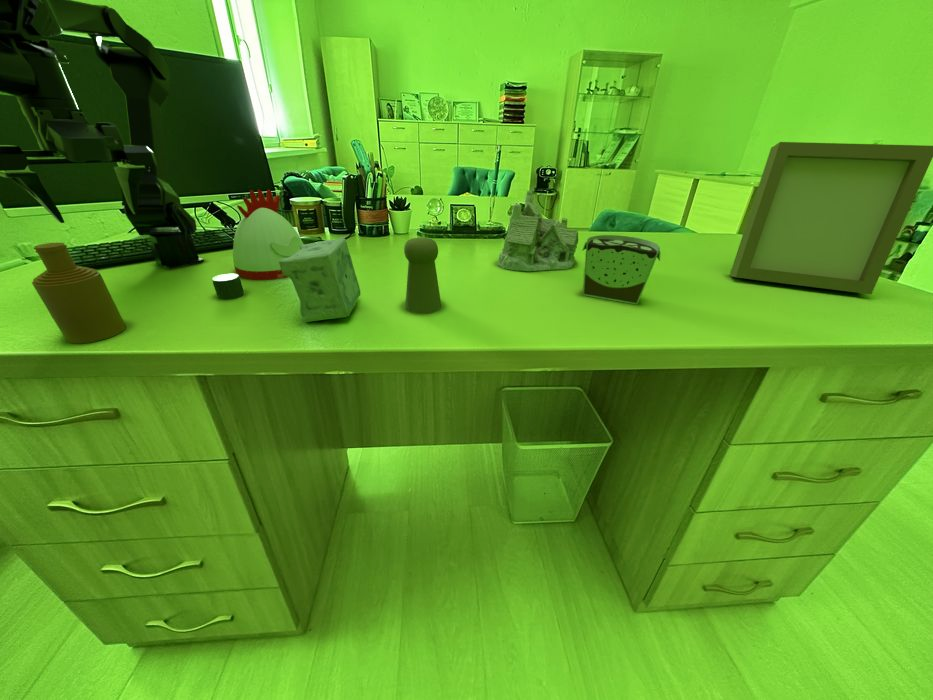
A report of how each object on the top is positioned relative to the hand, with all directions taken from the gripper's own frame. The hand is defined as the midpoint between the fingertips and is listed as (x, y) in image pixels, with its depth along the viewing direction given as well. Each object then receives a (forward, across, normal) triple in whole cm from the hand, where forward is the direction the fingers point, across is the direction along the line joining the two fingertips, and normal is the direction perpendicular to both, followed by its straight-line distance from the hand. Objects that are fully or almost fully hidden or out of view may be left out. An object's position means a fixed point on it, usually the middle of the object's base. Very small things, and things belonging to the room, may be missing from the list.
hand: (101, 218), depth 58 cm
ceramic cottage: (+12, +57, -52) cm, 78 cm away
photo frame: (+12, +78, -100) cm, 127 cm away
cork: (+12, +23, -46) cm, 53 cm away
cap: (+12, +8, -16) cm, 22 cm away
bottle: (+12, -10, -15) cm, 21 cm away
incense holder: (+12, +13, -35) cm, 39 cm away
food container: (+12, +47, -71) cm, 86 cm away
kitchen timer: (+12, +21, -9) cm, 26 cm away
